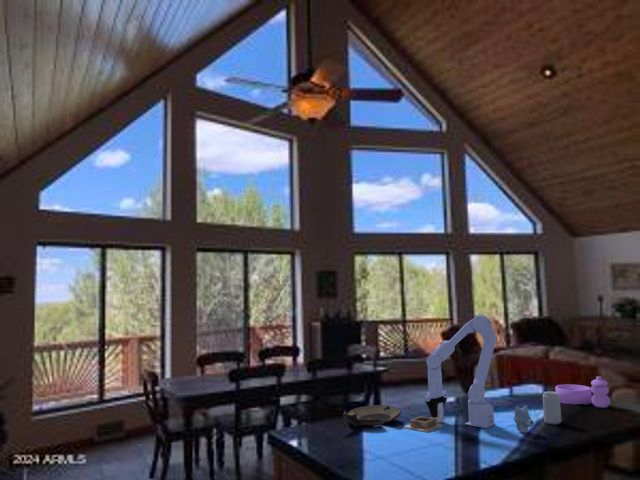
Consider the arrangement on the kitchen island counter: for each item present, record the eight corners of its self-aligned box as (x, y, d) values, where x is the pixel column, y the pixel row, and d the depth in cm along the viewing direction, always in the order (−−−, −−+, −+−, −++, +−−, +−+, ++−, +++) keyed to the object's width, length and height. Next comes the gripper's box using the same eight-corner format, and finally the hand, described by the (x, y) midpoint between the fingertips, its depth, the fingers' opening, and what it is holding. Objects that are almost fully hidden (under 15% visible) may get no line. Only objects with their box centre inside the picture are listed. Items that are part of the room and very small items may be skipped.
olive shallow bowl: (413, 425, 218) (412, 406, 219) (348, 435, 206) (347, 415, 207) (385, 414, 239) (384, 396, 239) (324, 423, 227) (324, 404, 227)
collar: (442, 426, 214) (442, 418, 215) (427, 432, 207) (427, 424, 207) (419, 422, 222) (419, 414, 222) (404, 427, 214) (403, 420, 215)
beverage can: (543, 424, 213) (541, 393, 214) (545, 420, 219) (543, 390, 220) (560, 425, 210) (558, 394, 212) (562, 421, 216) (559, 391, 217)
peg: (443, 421, 222) (442, 402, 222) (438, 423, 219) (437, 404, 219) (435, 420, 224) (434, 401, 225) (430, 422, 221) (429, 402, 222)
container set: (549, 400, 255) (547, 372, 256) (569, 396, 262) (567, 369, 263) (598, 410, 233) (596, 379, 234) (619, 405, 240) (616, 375, 242)
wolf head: (526, 437, 196) (524, 409, 197) (511, 431, 205) (509, 404, 206) (540, 435, 198) (538, 407, 199) (525, 429, 206) (523, 403, 207)
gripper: (436, 379, 231) (438, 411, 230) (417, 384, 221) (418, 418, 219) (450, 381, 226) (452, 413, 225) (431, 386, 216) (433, 420, 214)
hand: (436, 416), depth 222 cm, fingers closed on peg, 4 cm apart
